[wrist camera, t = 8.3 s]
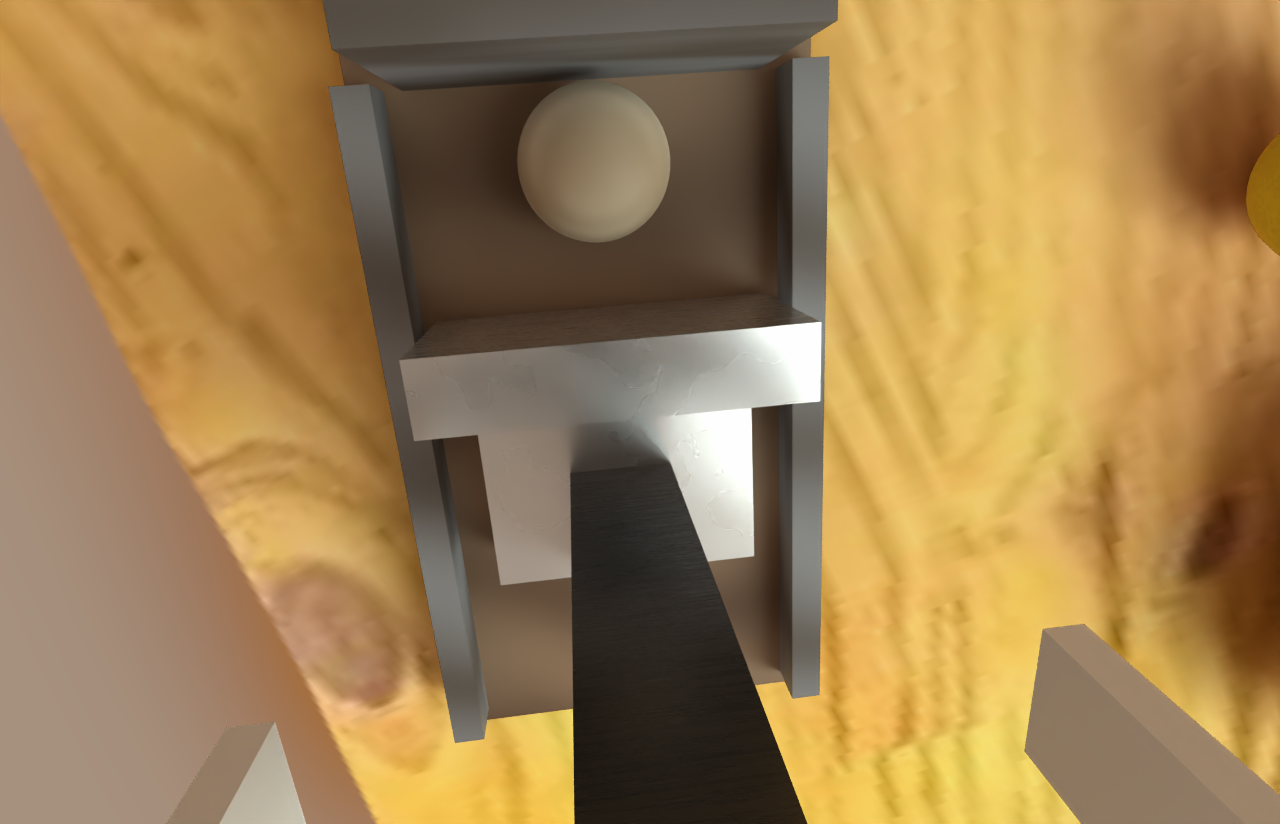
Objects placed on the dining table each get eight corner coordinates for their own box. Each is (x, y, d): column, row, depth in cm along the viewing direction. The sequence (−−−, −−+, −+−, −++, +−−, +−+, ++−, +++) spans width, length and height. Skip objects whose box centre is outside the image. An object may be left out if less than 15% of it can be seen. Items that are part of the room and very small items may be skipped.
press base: (335, -45, 19) (198, -183, 12) (794, -66, 20) (919, -207, 13) (468, 694, 27) (433, 875, 20) (793, 653, 28) (871, 812, 21)
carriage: (437, 320, 21) (152, 612, 6) (764, 292, 21) (1157, 498, 7) (476, 556, 23) (332, 1140, 9) (767, 523, 24) (1063, 1016, 10)
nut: (513, 95, 19) (500, 73, 15) (655, 86, 20) (676, 62, 16) (530, 242, 20) (522, 254, 17) (663, 232, 21) (685, 241, 17)
